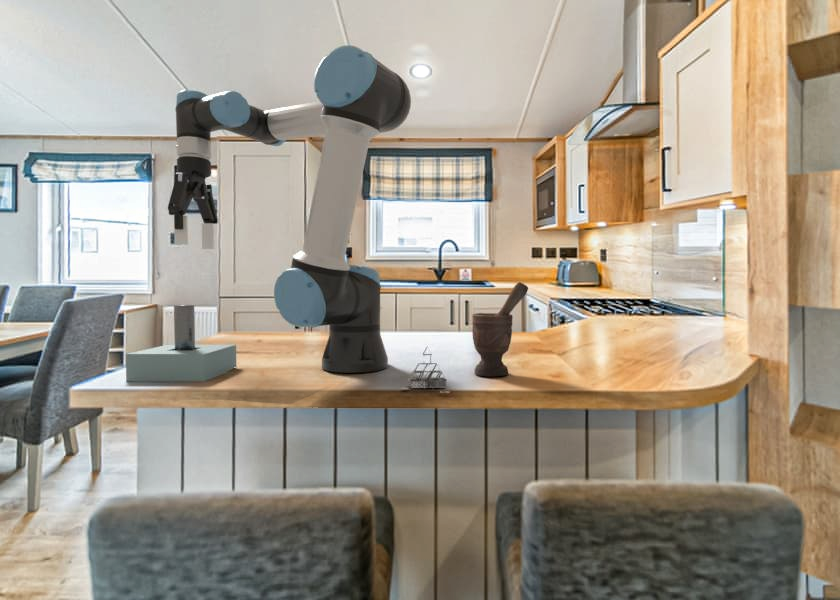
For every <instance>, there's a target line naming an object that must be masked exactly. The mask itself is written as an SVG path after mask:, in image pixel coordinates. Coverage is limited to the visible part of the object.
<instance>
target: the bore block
mask: <svg viewBox="0 0 840 600" xmlns="http://www.w3.org/2000/svg"><path fill="white" fill-rule="evenodd" d="M234 367H236V368H237V344H195V350H191V351H175V344H165V345H161V346H155V347H152V348H147V349H142V350H138V351H133V352H129V353H126V354H125V373H126V374H125V376H126V378H125V380H126V381H125V382H207V381H209V380H212V379H214V378H217V377H219V376H222V375H223V374H227V373H228V371H229V370H231V369H233V368H234ZM233 370H234V369H233ZM231 371H232V370H231ZM229 372H230V371H229Z"/></svg>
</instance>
